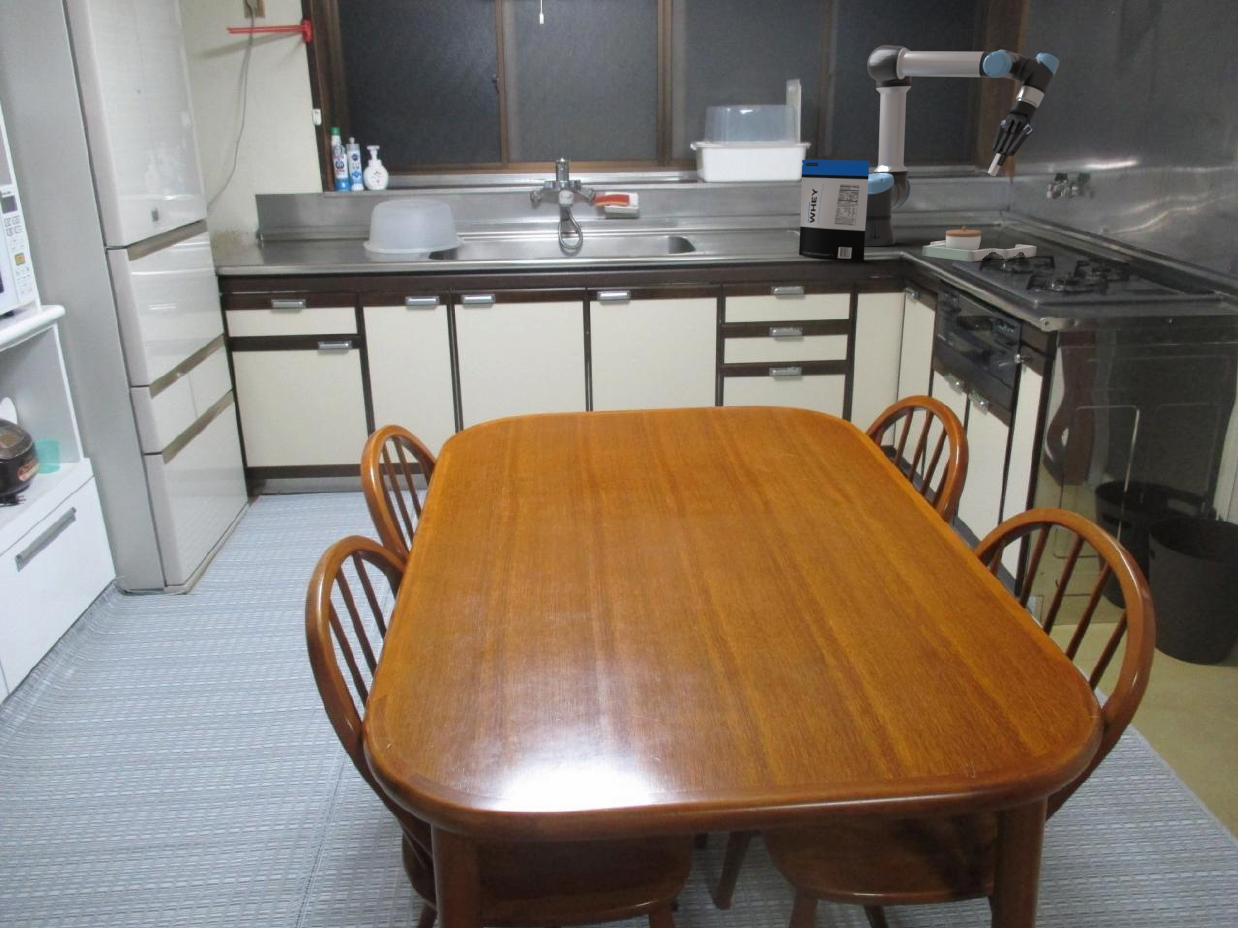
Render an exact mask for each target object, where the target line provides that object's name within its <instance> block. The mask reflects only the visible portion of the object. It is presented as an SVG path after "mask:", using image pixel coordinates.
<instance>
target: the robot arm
mask: <svg viewBox="0 0 1238 928" xmlns="http://www.w3.org/2000/svg"><path fill="white" fill-rule="evenodd" d="M866 65H867V66H866V67H867V72H868V74H869V76H870V77H871V78H872V79H873V80H875V81H876V83H875V85H876V86H875V89H876V91H877V92H878V93H879V94H880V101H879V105H880V106H879V109H880V110H879V131H878V132H879V134H878V164H877V167H876V168H875V169H874V170H873V173H869V177H868V195H867V210H866V224H865V245H864V247H887V246H893V245H896V244H895V243H896V236H895V234H894V227H893V224H892V212H893V210H896V209H899V208H901V207H902V206H904V205H905V204H906V203H907V202H908V200H909V199H910V197H911V195H912V194H911V193H912V185H911V184H912V183H910V182H911V181H910V180H909V179H908V173H909V169H908V168H907V167H906V166H905V165H904V159H905V158H904V156H905V138H906V137H905V135H906V134H905V133H906V132H905V131H906V111H907V110H906V109H907V108H906V107H907V105H906V104H907V92H908V91H909V90H910V89H911V88H912V77H940V78H941V77H943V78H944V77H945V78H946V77H947V78H948V77H950V78H951V77H952V78H953V77H955V78H956V77H957V78H958V77H959V78H960V77H961V78H993V79H1000V78H1001V79H1002V78H1003V79H1009V80H1013V81H1016V82H1019V83H1023V84H1022V85H1021V88H1020V89H1019V92H1018V93H1017V95H1016V97H1015V99H1016V100H1014V102H1013V103H1012V105H1011V108H1010V109H1009V115H1008V116H1007V117H1006V118H1005V119H1004V120H1002V121H1001V120H998V121H997V122H996V131H995V136H994V138H993V142H992V146H991V150H992V151H993V152H994V154H993V157H992V158H991V160H990V163H991V165H990V166H989V169H988V170H987V174H989V175H990V176H992V177H996V176H997V174H998V172H999V170H1000V168H1001V167H1003V166H1004V164H1005V162H1006V160H1007V158H1008V157H1014V156H1015V154H1016V153H1017V152H1018V150H1019V149H1020V148H1021V146H1022V145H1023V144H1024V143H1025V141H1026V140H1027V138H1028V137H1029V136H1030V135H1032V134H1033V133H1034V131H1035V130H1034V129H1033V128H1032V127H1031V126H1030V125H1031V120H1033V118H1034V117H1035V115H1036V113H1037V110H1038V109H1037V108H1039V107H1040V104H1041V102H1042V101H1043V98H1044V97H1045V94H1046V92H1047V90H1048V88H1049V87H1050V84H1051V82H1052V81H1053V79H1054V78H1055V76H1056V73H1057V69H1058V68H1059V65H1060V60H1059V59H1058V58H1057V57H1056V56H1054V55H1052V54H1050V53H1046V52H1045V53H1044V52H1039V53H1038V54H1037V55H1036V57H1035V58H1034V57H1028V56H1024V55H1022V54H1020V53H1016V52H1012V51H1010V50H1006V49H999V50H996V51H931V50H930V51H929V50H928V51H921V50H918V51H916V50H912V51H911V50H910V48H907V47H905V46H902V45H890V44H884V45H880V46H877V48H875V49H874V50H873V51H872V52H871V53H870V55H869V57H868V58H867V63H866Z"/></svg>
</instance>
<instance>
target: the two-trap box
mask: <svg viewBox="0 0 1238 928" xmlns="http://www.w3.org/2000/svg"><path fill="white" fill-rule="evenodd" d="M991 252H996V253H997V254H999V255H1001V256H1003V258H1005V259H1006V258H1009V257H1013V256H1016V255H1017V254H1018V253H1019V252H1023V253H1024V255H1025V256H1026V257H1025V258H1031V257H1036V254H1037V246H1036V245H1030V244H1029V245H1028V244H1020V243H1019V244H1015V247H1014V248H1006V249H1002V248H994V247H993V248H992V247H990V248H989V247H988V248H982V249H978V250H974V251H968V250H959V249H950V248H947V247H946V239H945V240H938V241H937V240H936V241H931V242H930V244H929V245H922V254H921V256H923V257H929V258H930V257H931V258H937V259H945V260H946V259H947V260H954V261H962V262H971V263H972V262H979V261H983V260H982V259H983V258H984V257H985V256H986V255H988V254H989V253H991Z"/></svg>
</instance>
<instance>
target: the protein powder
mask: <svg viewBox="0 0 1238 928" xmlns="http://www.w3.org/2000/svg"><path fill="white" fill-rule="evenodd" d="M801 163H802V165H801V185H800V186H801V187H800V188H801V191H800V225H799V226H800V228H799V248H798V255H799V256H803V257H804V258H805V257H806V258H810V259H813V260H814V259H815V260H816V259H817V260H823V261H825V260H826V261H827V260H828V261H848V262H849V261H852V262H853V261H857V262H858V261H861V262H862V261H863V262H864V260H865V246H864V245H865V224H866V210H867V195H868V177H869V174H870V166H869V165H870V160H835V159H833V160H832V159H831V160H830V159H828V160H827V159H802V160H801Z"/></svg>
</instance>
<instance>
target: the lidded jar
mask: <svg viewBox="0 0 1238 928" xmlns="http://www.w3.org/2000/svg"><path fill="white" fill-rule="evenodd" d="M961 228H962V229H952V230H951V229H950V230H946V232H945V240H946V247H947V248H950V249H959V250H968V251H974V250H979V248H980V246H981V245H980V244H981V239H982V234H983V233H982V231H981V230H977V229H967V226H966V225H963V226H962V227H961Z"/></svg>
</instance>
